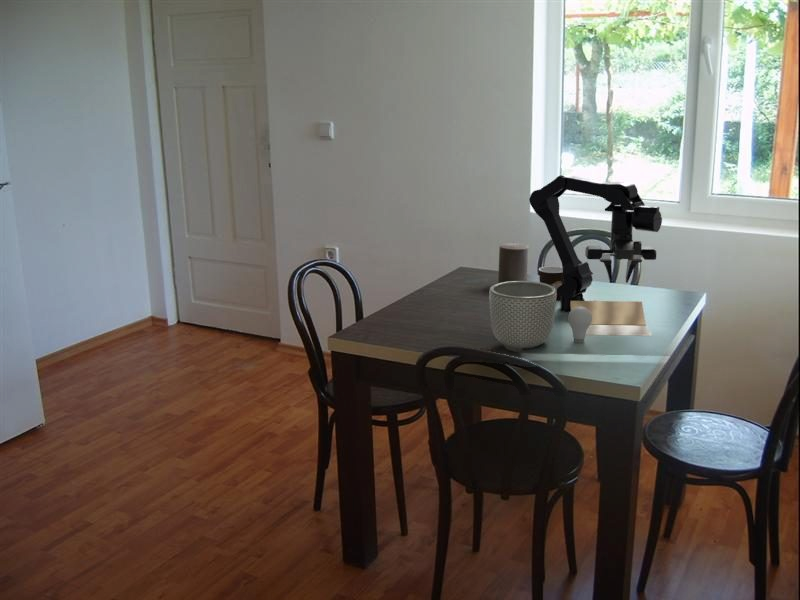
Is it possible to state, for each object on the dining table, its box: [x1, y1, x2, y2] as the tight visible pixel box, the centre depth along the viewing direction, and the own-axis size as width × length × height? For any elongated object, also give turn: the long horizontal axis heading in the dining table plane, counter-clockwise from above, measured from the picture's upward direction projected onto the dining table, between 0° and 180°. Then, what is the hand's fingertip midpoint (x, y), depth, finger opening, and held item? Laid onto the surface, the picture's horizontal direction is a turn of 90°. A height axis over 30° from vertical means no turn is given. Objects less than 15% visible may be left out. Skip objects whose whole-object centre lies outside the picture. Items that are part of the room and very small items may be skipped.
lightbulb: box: [567, 307, 592, 344], centre depth 215 cm, size 6×6×11 cm
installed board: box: [585, 325, 653, 337], centre depth 225 cm, size 20×9×2 cm, turn 84°
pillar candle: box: [497, 241, 530, 284], centre depth 276 cm, size 10×10×15 cm
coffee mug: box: [538, 266, 564, 302], centre depth 258 cm, size 12×9×10 cm
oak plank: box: [570, 300, 647, 326], centre depth 233 cm, size 20×9×1 cm
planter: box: [488, 280, 557, 353], centre depth 215 cm, size 17×17×16 cm
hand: (618, 282), depth 233 cm, fingers open, 4 cm apart
